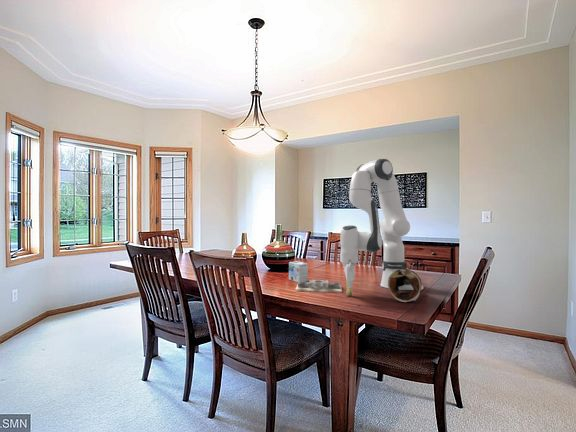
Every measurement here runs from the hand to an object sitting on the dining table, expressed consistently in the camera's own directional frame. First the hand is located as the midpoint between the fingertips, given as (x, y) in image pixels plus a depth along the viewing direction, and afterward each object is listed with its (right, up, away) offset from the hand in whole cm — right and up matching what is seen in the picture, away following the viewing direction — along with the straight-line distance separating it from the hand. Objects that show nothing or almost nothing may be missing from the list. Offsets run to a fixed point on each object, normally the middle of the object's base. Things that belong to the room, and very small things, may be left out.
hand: (349, 286), depth 168 cm
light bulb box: (-24, -4, +36) cm, 43 cm away
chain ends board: (-14, -4, +14) cm, 20 cm away
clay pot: (+28, -5, -1) cm, 28 cm away
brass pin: (0, -4, 0) cm, 4 cm away
